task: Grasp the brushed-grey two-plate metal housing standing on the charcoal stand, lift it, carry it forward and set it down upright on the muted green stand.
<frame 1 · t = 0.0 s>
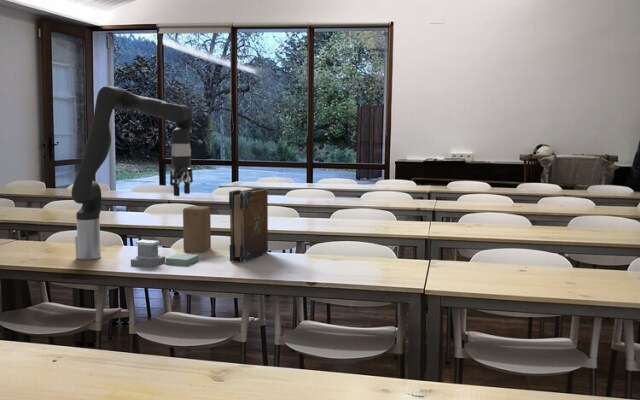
hand: (181, 194, 244), 29 cm above the table, fingers open, 8 cm apart
stand b: (182, 262, 253), on the table
stand a: (148, 263, 250), on the table
decorative book: (250, 257, 265), on the table
wooden block: (197, 250, 279), on the table
housing: (148, 257, 249), point 2 cm above the table, touching stand a
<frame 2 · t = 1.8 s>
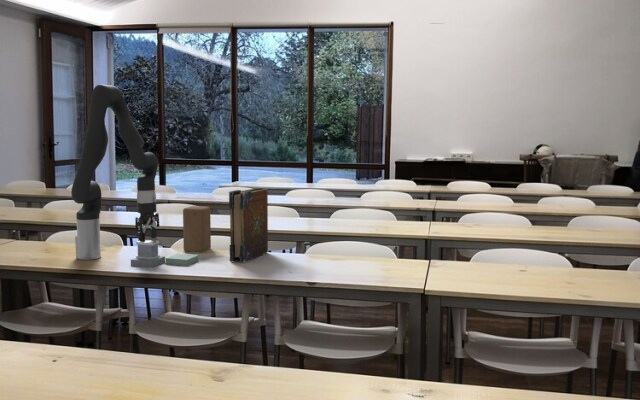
hand: (148, 240, 248), 10 cm above the table, fingers open, 8 cm apart
nothing on the table moved.
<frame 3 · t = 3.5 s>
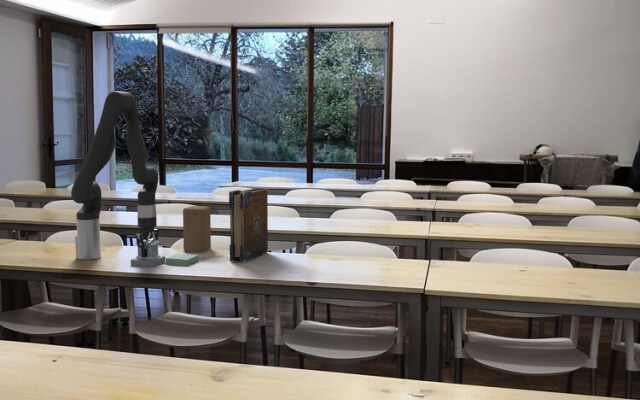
hand: (148, 255, 249), 3 cm above the table, fingers closed on housing, 5 cm apart
housing: (148, 257, 249), point 2 cm above the table, touching gripper, stand a
everything else where it was.
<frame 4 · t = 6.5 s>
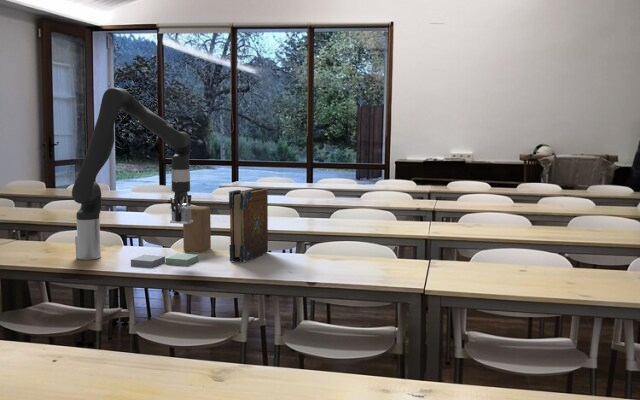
hand: (181, 220, 251), 18 cm above the table, fingers closed on housing, 5 cm apart
housing: (181, 222, 251), point 17 cm above the table, touching gripper
everything else where it was.
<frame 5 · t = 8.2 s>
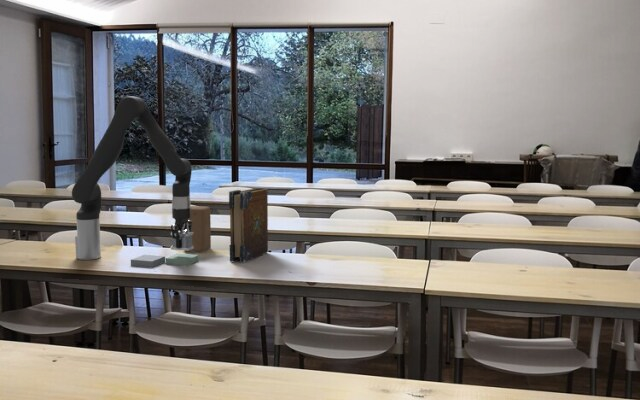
hand: (182, 246, 252), 7 cm above the table, fingers closed on housing, 5 cm apart
housing: (182, 248, 252), point 6 cm above the table, touching gripper
everything else where it was.
when the fingers open (4 cm above the table, at t = 9.6 s): housing stays where it is, resting on stand b.
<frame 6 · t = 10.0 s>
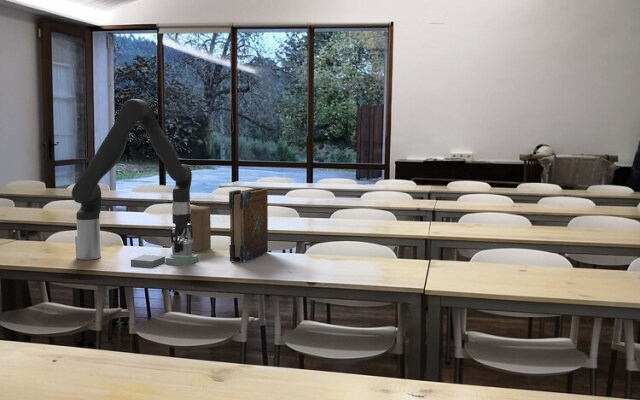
hand: (182, 250, 253), 5 cm above the table, fingers open, 8 cm apart
housing: (182, 256, 253), point 2 cm above the table, touching stand b
everything else where it was.
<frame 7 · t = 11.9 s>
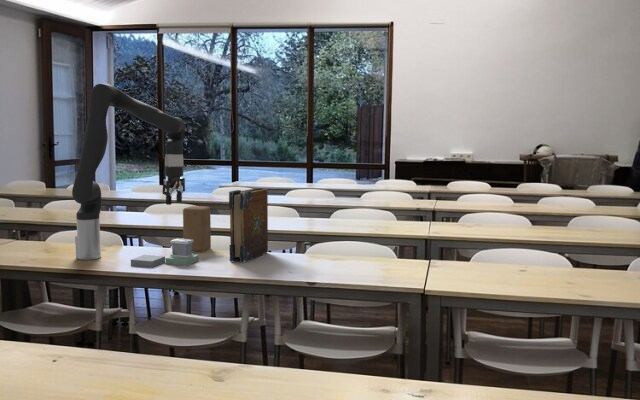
hand: (174, 203, 253), 25 cm above the table, fingers open, 8 cm apart
nothing on the table moved.
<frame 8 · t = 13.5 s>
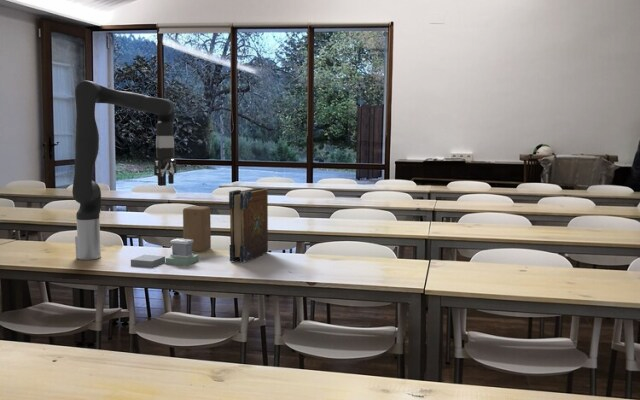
hand: (165, 184, 257), 32 cm above the table, fingers open, 8 cm apart
nothing on the table moved.
at the end: housing inside the target area on the stand b (0.1 cm from its centre), point 2.5 cm above the stand b's base; housing tilted 0°; the gripper is holding nothing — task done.
